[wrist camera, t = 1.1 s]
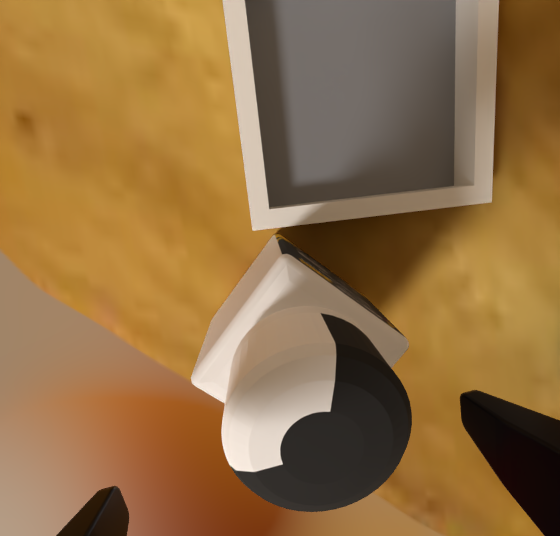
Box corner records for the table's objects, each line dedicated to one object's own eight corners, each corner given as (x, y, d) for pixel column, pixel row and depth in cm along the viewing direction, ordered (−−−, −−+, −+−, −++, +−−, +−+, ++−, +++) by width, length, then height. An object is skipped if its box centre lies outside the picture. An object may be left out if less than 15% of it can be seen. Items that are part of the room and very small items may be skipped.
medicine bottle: (364, 295, 22) (489, 419, 10) (298, 378, 23) (341, 577, 11) (275, 230, 20) (299, 285, 9) (209, 321, 21) (150, 479, 10)
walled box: (468, -51, 18) (502, -90, 15) (464, 200, 21) (491, 202, 18) (220, -29, 17) (214, -65, 15) (253, 225, 20) (252, 230, 18)
